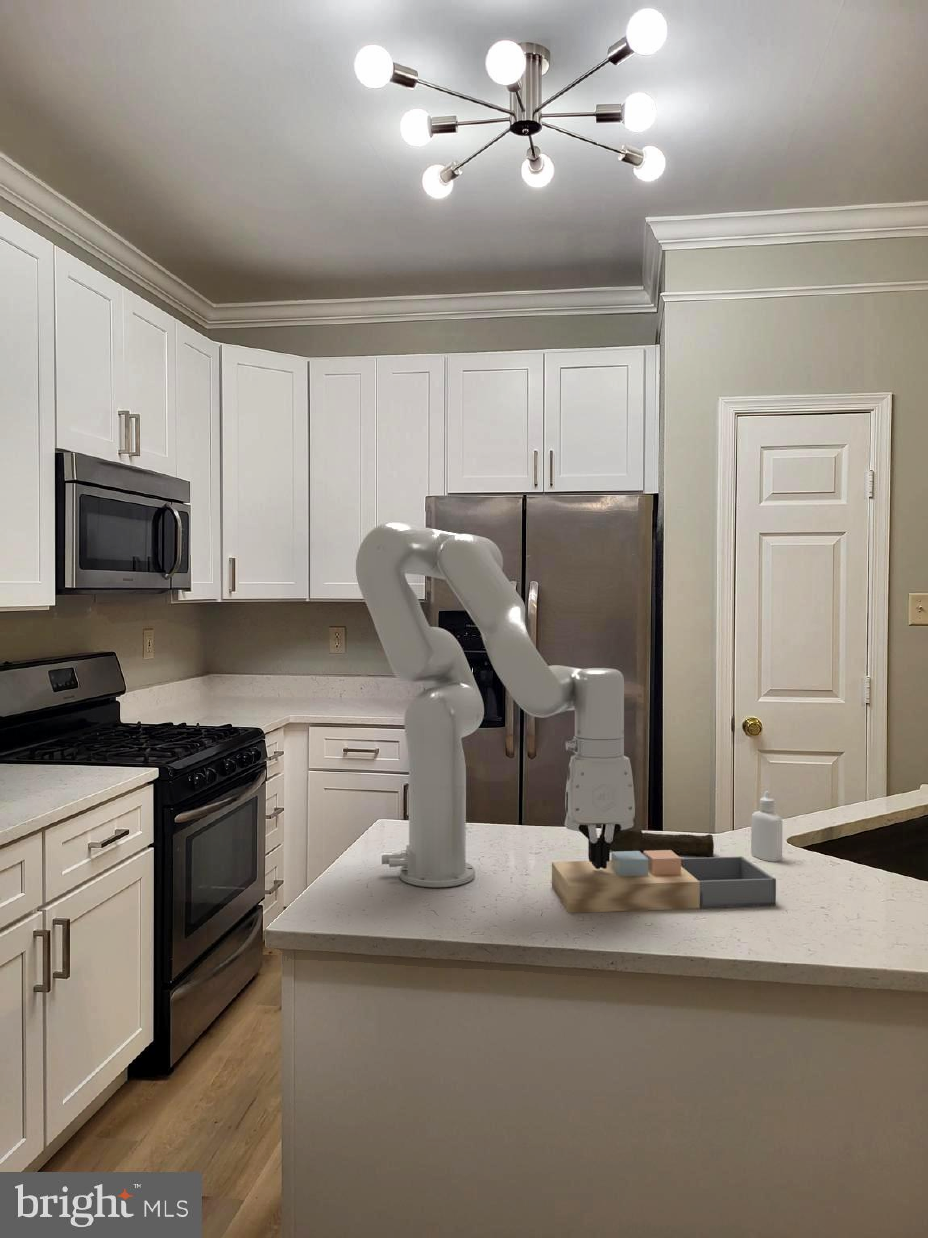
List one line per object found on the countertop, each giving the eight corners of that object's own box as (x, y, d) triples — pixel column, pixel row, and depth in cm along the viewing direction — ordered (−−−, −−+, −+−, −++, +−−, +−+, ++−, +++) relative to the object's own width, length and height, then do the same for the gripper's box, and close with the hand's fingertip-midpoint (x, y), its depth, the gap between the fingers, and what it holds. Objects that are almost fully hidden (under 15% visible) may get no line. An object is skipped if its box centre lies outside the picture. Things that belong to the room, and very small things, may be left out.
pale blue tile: (619, 876, 132) (619, 860, 132) (611, 867, 137) (611, 851, 137) (648, 875, 133) (648, 859, 133) (638, 866, 137) (639, 851, 137)
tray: (699, 908, 130) (699, 881, 130) (671, 883, 142) (671, 858, 142) (775, 905, 131) (775, 879, 131) (741, 880, 143) (742, 856, 143)
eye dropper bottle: (772, 853, 159) (773, 788, 159) (784, 862, 153) (785, 795, 153) (748, 853, 159) (749, 788, 159) (760, 862, 153) (760, 795, 153)
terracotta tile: (652, 875, 133) (652, 859, 133) (643, 866, 137) (643, 850, 137) (680, 874, 133) (680, 858, 133) (670, 865, 138) (670, 850, 138)
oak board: (568, 913, 128) (569, 886, 127) (551, 886, 139) (551, 862, 139) (699, 908, 130) (699, 881, 130) (671, 883, 142) (671, 858, 142)
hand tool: (712, 854, 159) (712, 828, 159) (714, 860, 155) (714, 834, 155) (608, 848, 163) (608, 824, 163) (607, 854, 159) (607, 829, 159)
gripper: (556, 753, 129) (556, 875, 130) (653, 751, 131) (653, 872, 131) (546, 745, 137) (546, 860, 137) (638, 743, 138) (638, 858, 139)
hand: (598, 866), depth 134 cm, fingers closed
